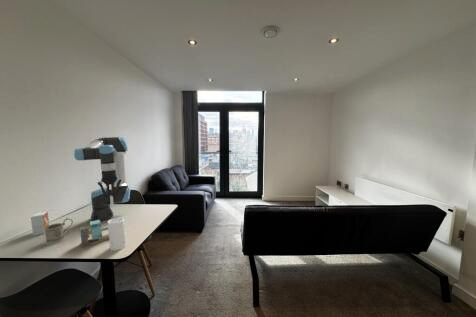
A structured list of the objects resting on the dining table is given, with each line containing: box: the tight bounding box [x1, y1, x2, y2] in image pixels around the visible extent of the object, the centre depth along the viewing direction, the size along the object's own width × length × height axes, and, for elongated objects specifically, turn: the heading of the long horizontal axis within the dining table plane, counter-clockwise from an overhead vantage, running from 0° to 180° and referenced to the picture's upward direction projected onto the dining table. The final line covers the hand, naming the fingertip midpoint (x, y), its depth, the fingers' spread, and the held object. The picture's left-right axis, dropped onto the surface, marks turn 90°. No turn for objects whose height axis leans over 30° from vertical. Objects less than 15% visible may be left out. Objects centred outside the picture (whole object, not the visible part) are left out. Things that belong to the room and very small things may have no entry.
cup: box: [107, 217, 127, 251], centre depth 118 cm, size 8×8×16 cm
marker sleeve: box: [89, 220, 103, 240], centre depth 125 cm, size 7×5×9 cm
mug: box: [44, 217, 74, 246], centre depth 128 cm, size 14×10×12 cm
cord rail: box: [79, 225, 109, 248], centre depth 126 cm, size 7×19×10 cm, turn 130°
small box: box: [30, 211, 50, 237], centre depth 139 cm, size 8×6×13 cm
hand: (112, 206), depth 130 cm, fingers closed
